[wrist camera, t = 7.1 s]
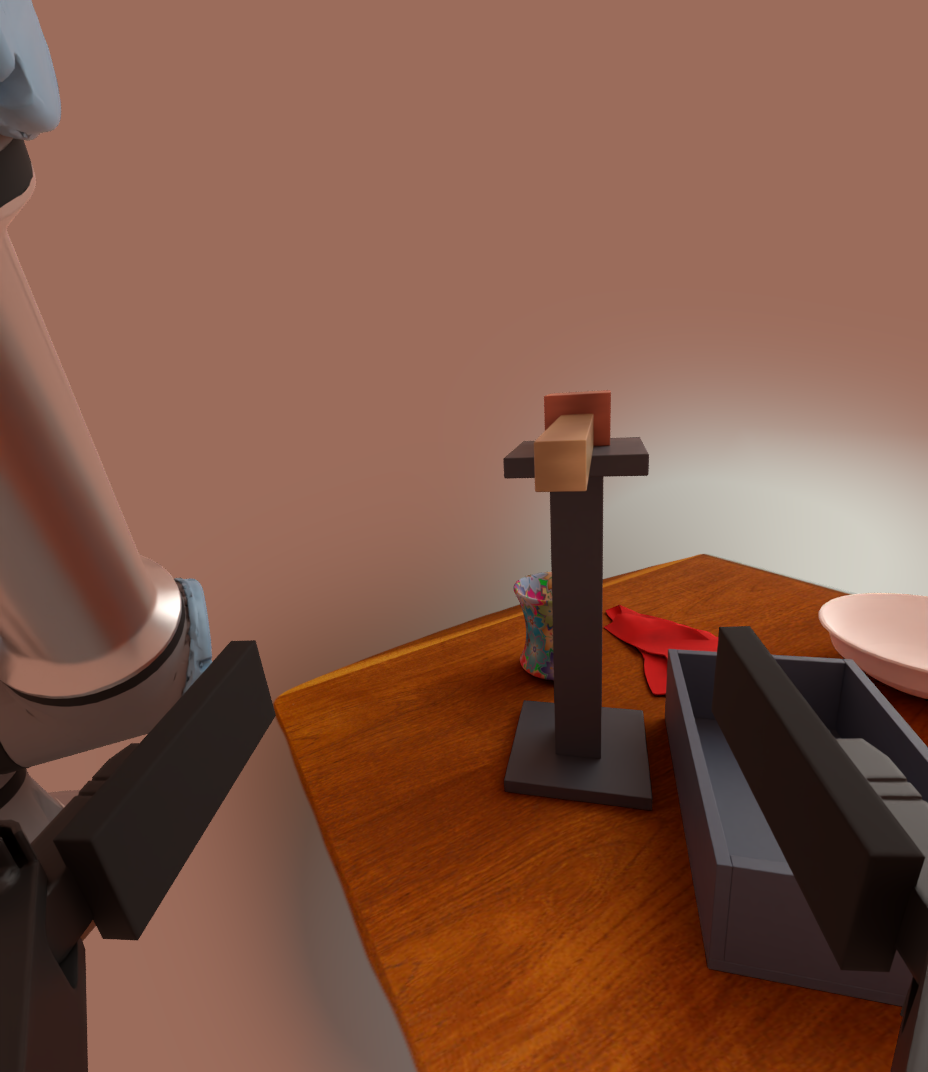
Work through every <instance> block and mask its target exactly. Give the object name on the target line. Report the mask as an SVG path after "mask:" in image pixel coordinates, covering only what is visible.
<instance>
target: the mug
mask: <svg viewBox="0 0 928 1072" xmlns="http://www.w3.org/2000/svg"><path fill="white" fill-rule="evenodd" d="M514 592H515V594H516V595H517V598H518V600H519V602H520V604H521V607H522V610H523V613H524V617H525V622H526V643H525V647H524V650H523V652H522V654H521V657H520V663H521V666H522V667H523V669H524V670H525V671H527V672H528V673H529V674H531V675H533V676H535V677H538V678H541V679H546V680H554V662H553V613H552V572H544V573H537V574H532V575H528V576H525V577H523V578H521V579H519V580H518V581H517V582H516V583H515V585H514Z"/></svg>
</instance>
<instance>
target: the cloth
mask: <svg viewBox="0 0 928 1072" xmlns="http://www.w3.org/2000/svg"><path fill="white" fill-rule="evenodd" d="M606 613H607V615H608V616H609V617H610V618H611V619H612V620H613V622H612V623H610V624H608V625H607V626H605V627H604V628H605V629H606V630H608V631H609V632H611V633H612V634H613V635H615V636H616V637H617V638H619V639H621V640H623V641H624V642H626V643H628V644H630V645H633V646H635V647H636V648H637V649H638V650H639V651H640V652H641V653H642V655H643V658H644V659H645V662H644V670H645V676H646V679H647V682H648V685H649V687H650V689H651V691H652V693H653V694H654V695H665V694H666V683H667V661H668V649H677V650H694V651H712V652H717V647H718V637H715V636H714V635H712V634H711V633H710V632H708V631H703V630H698V629H693V628H691V627H689V626H686V625H683V624H678V623H675V622H673V621H669V620H665V619H661V618H657V617H653V616H649V615H643V614H638V613H637V612H635V611H633V610H630V609H628V608H625V607H623V606H621V605H618V606H616V607H613V608H611V609H608V610H606Z"/></svg>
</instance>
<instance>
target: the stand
mask: <svg viewBox="0 0 928 1072" xmlns="http://www.w3.org/2000/svg"><path fill="white" fill-rule="evenodd" d="M534 442H535V441H524V442H522V443H521V444H520V445H519V446H518V447H517V448H516V449H514V450H513V451H512V452H511V453H509V454H508V455H507V456H506V457H505V458H504V477H505V478H535V468H534ZM648 469H649V454H648V452H647V450H646V448H645V446H644V445H643V442H642V441H641V439H640V437H632V438H631V437H630V438H610V445H609V446H593V452H592V458H591V464H590V471H589V477H588V483H587V490H586V491H566V492H550V514H551V560H552V561H551V564H552V613H553V662H554V703H548V702H536V701H525V700H524V702H523V706H522V710H521V714H520V718H519V722H518V726H517V730H516V734H515V738H514V742H513V746H512V750H511V754H510V758H509V762H508V766H507V770H506V774H505V778H504V789H505V792H513V793H520V794H528V795H536V796H544V797H551V798H559V799H567V800H574V801H582V802H590V803H597V804H605V805H613V806H620V807H628V808H636V809H644V810H652V790H651V781H650V772H649V763H648V754H647V745H646V736H645V726H644V717H643V711H641V710H630V709H618V708H606V707H602V582H603V578H602V577H603V476H647V475H648Z"/></svg>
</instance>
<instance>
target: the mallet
mask: <svg viewBox="0 0 928 1072" xmlns="http://www.w3.org/2000/svg"><path fill="white" fill-rule="evenodd" d="M610 402H611V392H610V390H603V391H586V392H569V393H554V394H549V395H546V396H544V411H545V412H544V413H545V432H544V433H543V434H542V435H541V436H540V437H539V438H538V439H537V440H536V441H535V442H534V468H535V491H536V492H566V491H586V490H587V483H588V477H589V471H590V464H591V458H592V452H593V446H609V445H610V413H611V410H610V409H611V408H610V407H611V403H610Z"/></svg>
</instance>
